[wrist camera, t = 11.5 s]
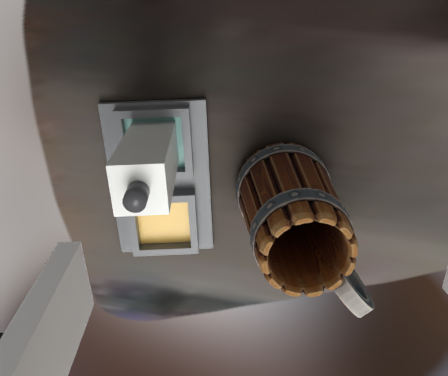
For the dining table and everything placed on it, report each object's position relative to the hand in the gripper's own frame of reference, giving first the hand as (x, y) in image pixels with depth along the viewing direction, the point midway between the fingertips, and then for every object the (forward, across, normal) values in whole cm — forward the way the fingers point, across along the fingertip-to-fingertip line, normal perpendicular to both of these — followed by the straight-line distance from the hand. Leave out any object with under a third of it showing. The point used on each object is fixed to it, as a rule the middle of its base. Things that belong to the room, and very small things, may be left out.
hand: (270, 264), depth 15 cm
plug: (+30, -8, -5) cm, 31 cm away
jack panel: (+31, -8, -10) cm, 33 cm away
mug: (+31, +7, -13) cm, 34 cm away
